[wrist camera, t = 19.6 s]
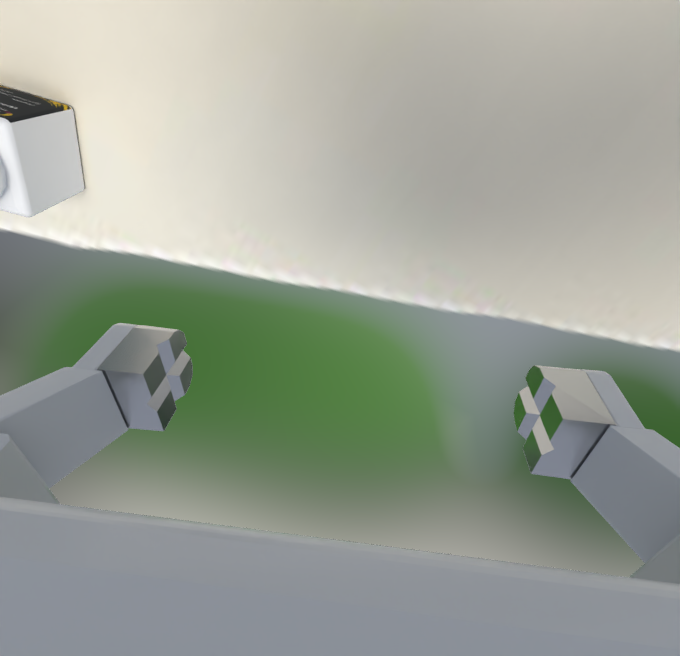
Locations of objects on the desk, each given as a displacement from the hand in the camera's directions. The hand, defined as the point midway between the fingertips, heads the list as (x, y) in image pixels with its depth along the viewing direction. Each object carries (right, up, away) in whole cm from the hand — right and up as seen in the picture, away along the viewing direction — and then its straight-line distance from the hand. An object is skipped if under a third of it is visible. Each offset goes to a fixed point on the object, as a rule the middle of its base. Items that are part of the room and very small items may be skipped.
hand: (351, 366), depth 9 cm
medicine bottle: (-26, +17, +24) cm, 40 cm away
